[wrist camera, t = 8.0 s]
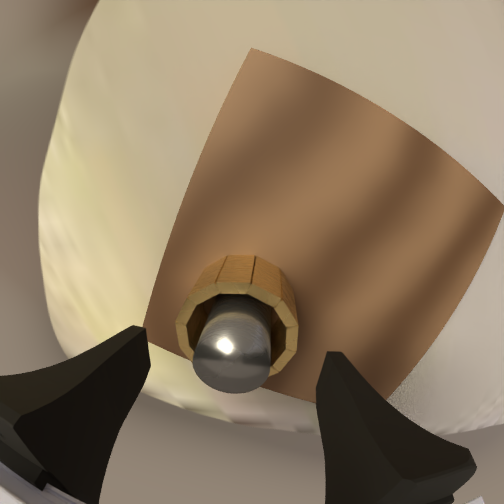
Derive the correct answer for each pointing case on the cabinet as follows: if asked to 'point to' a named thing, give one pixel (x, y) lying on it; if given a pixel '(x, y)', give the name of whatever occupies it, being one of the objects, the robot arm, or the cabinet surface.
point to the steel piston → (235, 344)
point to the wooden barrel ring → (242, 282)
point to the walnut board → (329, 223)
